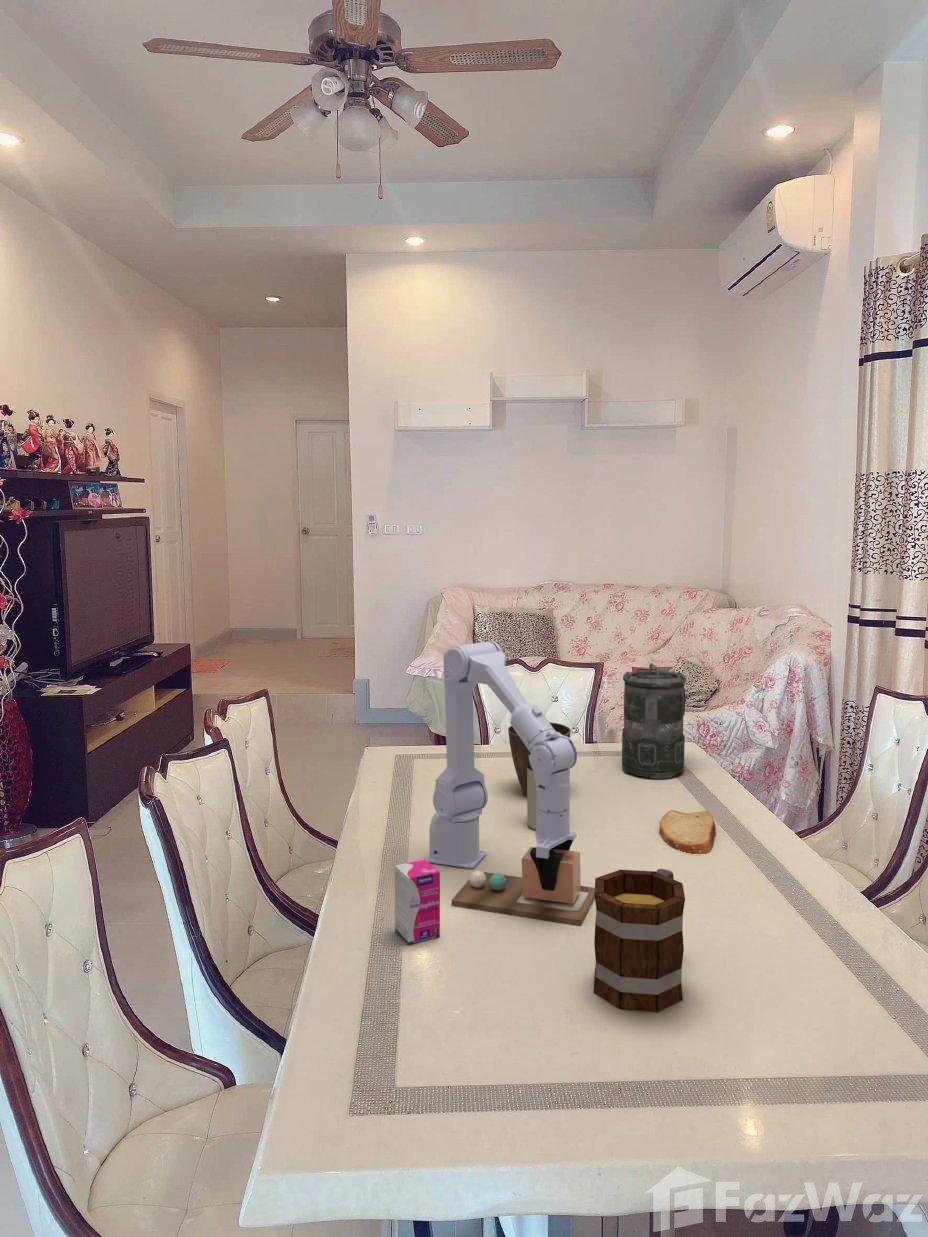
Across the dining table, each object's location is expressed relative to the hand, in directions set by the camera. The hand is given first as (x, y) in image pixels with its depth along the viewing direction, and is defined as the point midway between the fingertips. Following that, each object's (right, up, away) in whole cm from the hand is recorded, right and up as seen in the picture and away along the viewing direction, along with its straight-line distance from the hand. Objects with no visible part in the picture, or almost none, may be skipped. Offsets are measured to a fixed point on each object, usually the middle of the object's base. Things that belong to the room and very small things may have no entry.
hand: (552, 882), depth 155 cm
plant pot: (+3, +4, +59) cm, 59 cm away
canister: (+34, +6, +76) cm, 83 cm away
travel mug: (+2, +1, +38) cm, 38 cm away
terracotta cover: (0, -2, 0) cm, 2 cm away
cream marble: (-13, -1, +5) cm, 14 cm away
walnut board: (-5, -4, +2) cm, 6 cm away
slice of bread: (+33, 0, +32) cm, 46 cm away
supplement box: (-23, -6, -10) cm, 26 cm away
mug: (+11, -7, -24) cm, 27 cm away
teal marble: (-9, -1, +4) cm, 10 cm away
